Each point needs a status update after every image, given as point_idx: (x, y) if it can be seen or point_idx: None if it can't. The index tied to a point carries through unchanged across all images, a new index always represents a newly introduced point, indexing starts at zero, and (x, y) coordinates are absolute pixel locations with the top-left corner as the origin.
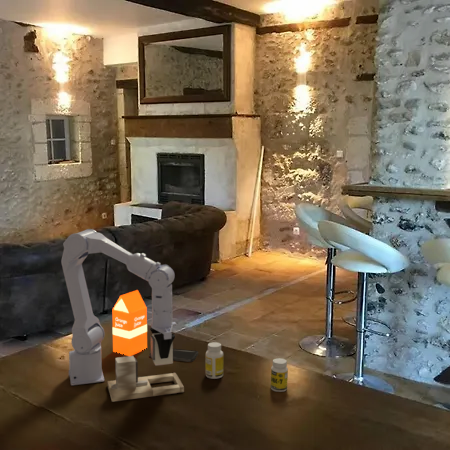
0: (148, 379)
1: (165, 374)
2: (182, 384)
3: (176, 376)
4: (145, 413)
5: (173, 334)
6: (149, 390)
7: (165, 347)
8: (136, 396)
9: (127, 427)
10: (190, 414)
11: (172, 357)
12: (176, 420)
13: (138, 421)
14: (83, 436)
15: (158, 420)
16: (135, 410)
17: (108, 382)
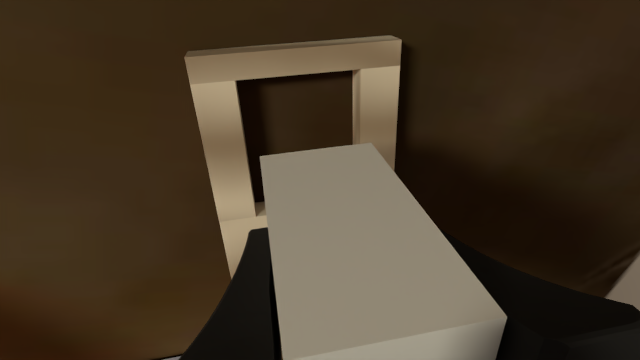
0: (254, 211)
1: (206, 124)
2: (368, 42)
3: (247, 61)
4: (504, 214)
5: (598, 350)
6: None
7: None
8: None
9: (555, 261)
10: (603, 47)
11: (389, 166)
12: (608, 113)
13: (541, 234)
14: None
15: (571, 175)
16: (468, 243)
17: None
